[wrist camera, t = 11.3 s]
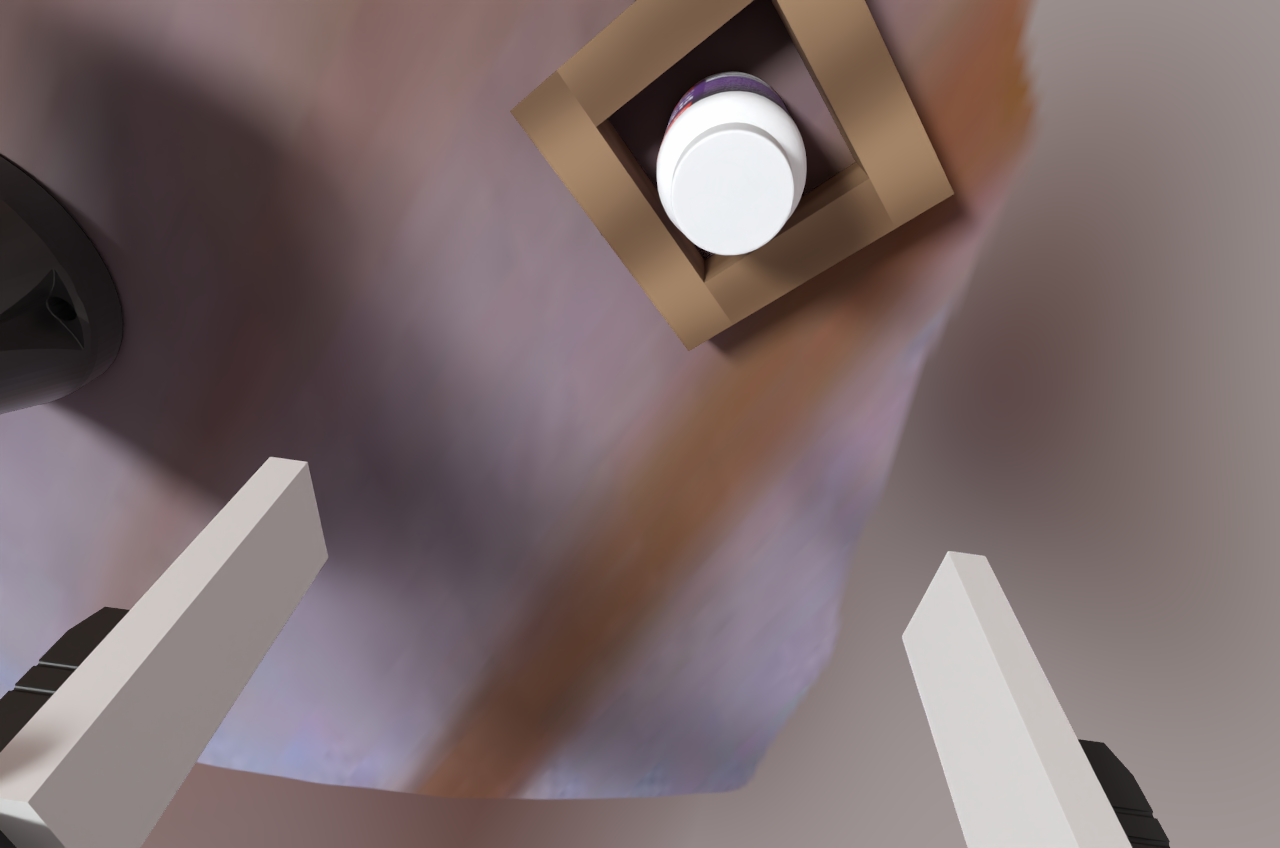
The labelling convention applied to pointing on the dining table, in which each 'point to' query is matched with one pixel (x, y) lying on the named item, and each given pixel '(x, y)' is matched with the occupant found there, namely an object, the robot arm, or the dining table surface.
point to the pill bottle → (731, 164)
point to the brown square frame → (824, 218)
